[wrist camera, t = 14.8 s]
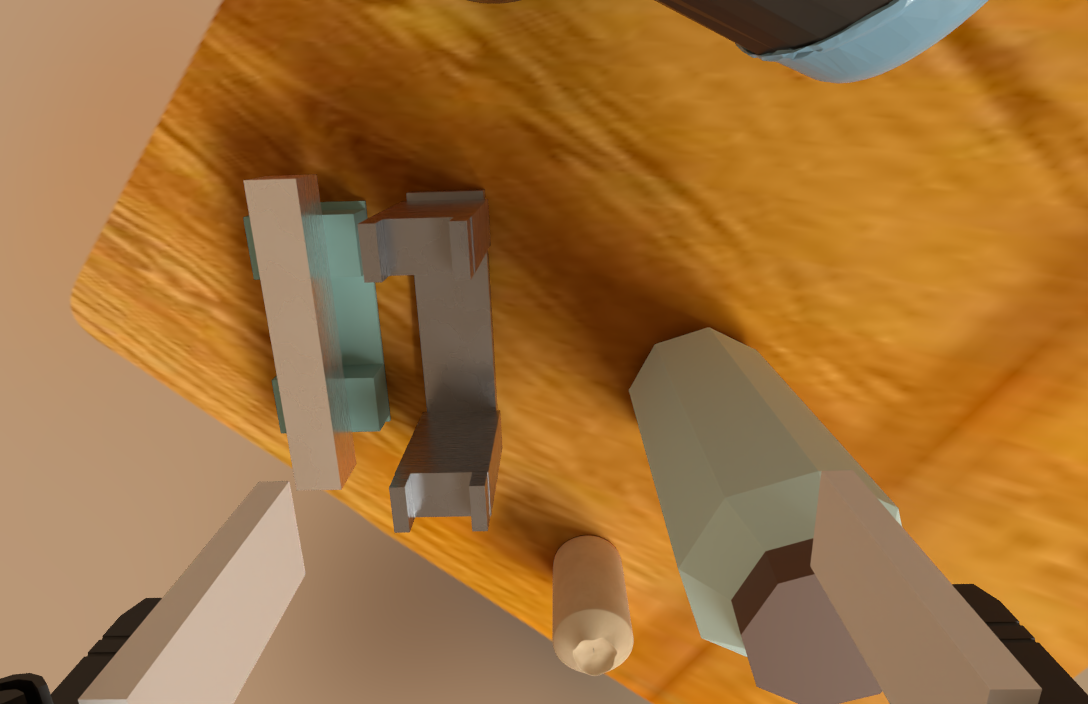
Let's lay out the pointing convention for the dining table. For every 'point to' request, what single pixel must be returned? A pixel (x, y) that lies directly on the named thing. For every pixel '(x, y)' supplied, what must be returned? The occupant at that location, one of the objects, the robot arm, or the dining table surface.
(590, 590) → the candle
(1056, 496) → the dining table surface
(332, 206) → the rest
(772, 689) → the water bottle
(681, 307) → the dining table surface
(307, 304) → the rail
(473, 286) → the stand
